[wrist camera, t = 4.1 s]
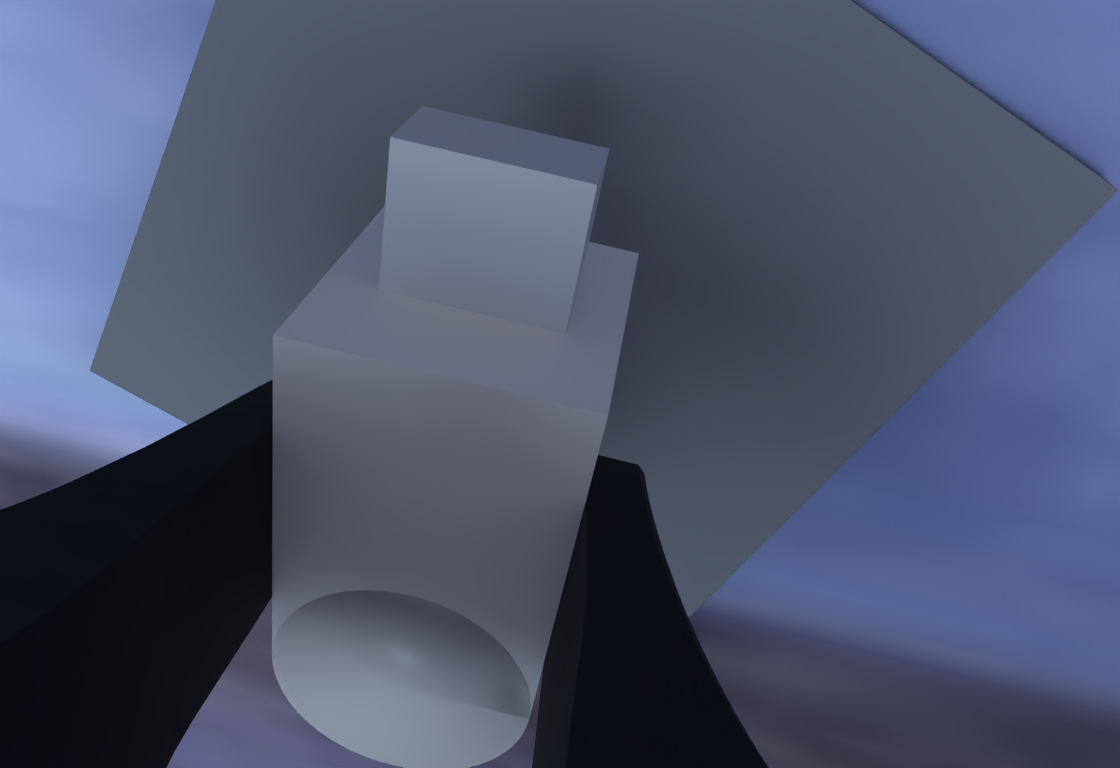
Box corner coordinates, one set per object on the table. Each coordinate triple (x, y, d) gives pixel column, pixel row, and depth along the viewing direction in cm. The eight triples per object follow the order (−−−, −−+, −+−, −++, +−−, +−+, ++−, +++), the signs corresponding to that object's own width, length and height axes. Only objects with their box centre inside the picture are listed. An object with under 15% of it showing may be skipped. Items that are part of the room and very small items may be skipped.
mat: (639, 649, 22) (637, 668, 21) (105, 357, 20) (90, 370, 19) (1104, 178, 15) (1118, 189, 14) (354, -353, 13) (339, -362, 12)
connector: (553, 591, 16) (509, 794, 13) (364, 544, 16) (271, 735, 13) (670, 126, 11) (650, 255, 8) (403, 65, 11) (273, 167, 8)
